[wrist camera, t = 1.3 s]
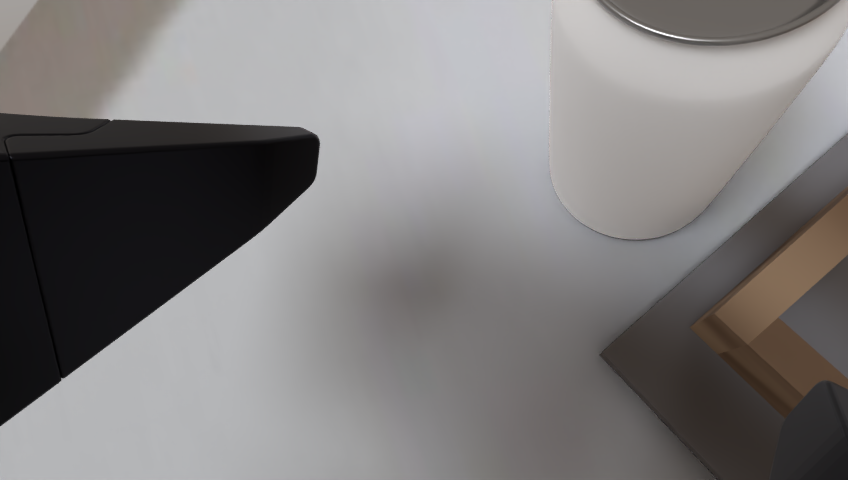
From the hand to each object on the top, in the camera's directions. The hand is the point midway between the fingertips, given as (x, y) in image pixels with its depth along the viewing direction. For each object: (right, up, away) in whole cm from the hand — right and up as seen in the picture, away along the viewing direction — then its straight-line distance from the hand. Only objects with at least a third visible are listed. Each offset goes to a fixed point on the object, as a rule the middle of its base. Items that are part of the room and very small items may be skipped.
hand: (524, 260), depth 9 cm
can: (+7, +3, +13) cm, 15 cm away
